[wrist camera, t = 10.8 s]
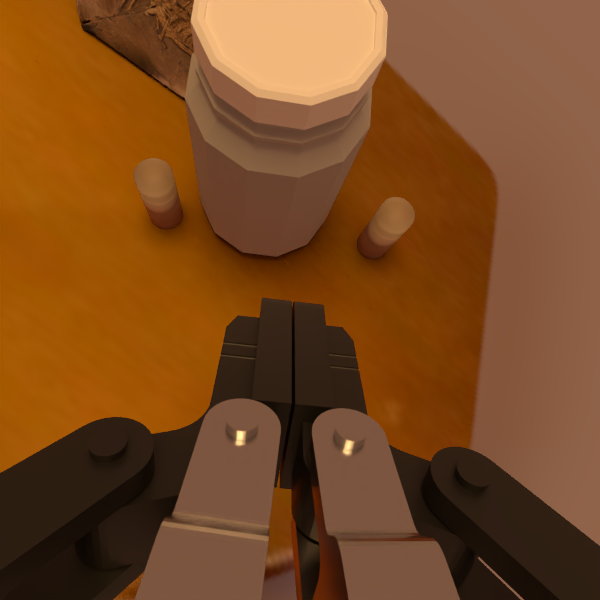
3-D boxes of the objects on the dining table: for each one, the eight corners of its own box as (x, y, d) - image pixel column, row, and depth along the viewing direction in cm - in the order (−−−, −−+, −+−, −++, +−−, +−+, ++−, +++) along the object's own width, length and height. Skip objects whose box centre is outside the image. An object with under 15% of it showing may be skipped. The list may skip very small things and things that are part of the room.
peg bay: (385, 261, 37) (414, 232, 31) (147, 226, 35) (130, 189, 29) (393, 129, 40) (420, 81, 34) (174, 90, 38) (163, 32, 32)
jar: (337, 253, 37) (430, 109, 19) (210, 269, 35) (188, 127, 18) (314, 141, 39) (379, -81, 21) (193, 151, 37) (158, -80, 20)
